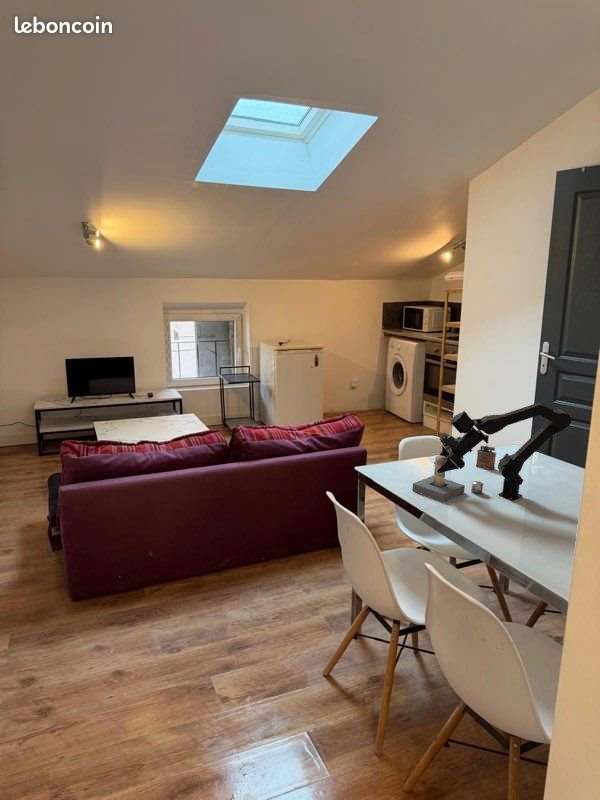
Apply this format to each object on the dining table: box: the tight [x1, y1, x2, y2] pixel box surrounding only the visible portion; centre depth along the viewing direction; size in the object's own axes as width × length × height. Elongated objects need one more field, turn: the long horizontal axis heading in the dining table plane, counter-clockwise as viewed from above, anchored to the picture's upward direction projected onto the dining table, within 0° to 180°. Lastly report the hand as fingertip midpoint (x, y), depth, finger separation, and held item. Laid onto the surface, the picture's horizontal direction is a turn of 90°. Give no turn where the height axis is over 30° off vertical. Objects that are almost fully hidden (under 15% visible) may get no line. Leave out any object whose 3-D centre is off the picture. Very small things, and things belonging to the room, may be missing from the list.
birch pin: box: [433, 455, 446, 488], centre depth 202 cm, size 4×4×14 cm
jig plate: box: [411, 475, 466, 502], centre depth 203 cm, size 14×14×3 cm
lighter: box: [475, 445, 497, 471], centre depth 230 cm, size 8×3×10 cm, turn 55°
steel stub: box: [471, 480, 484, 496], centre depth 203 cm, size 4×4×4 cm
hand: (436, 468), depth 201 cm, fingers open, 9 cm apart
